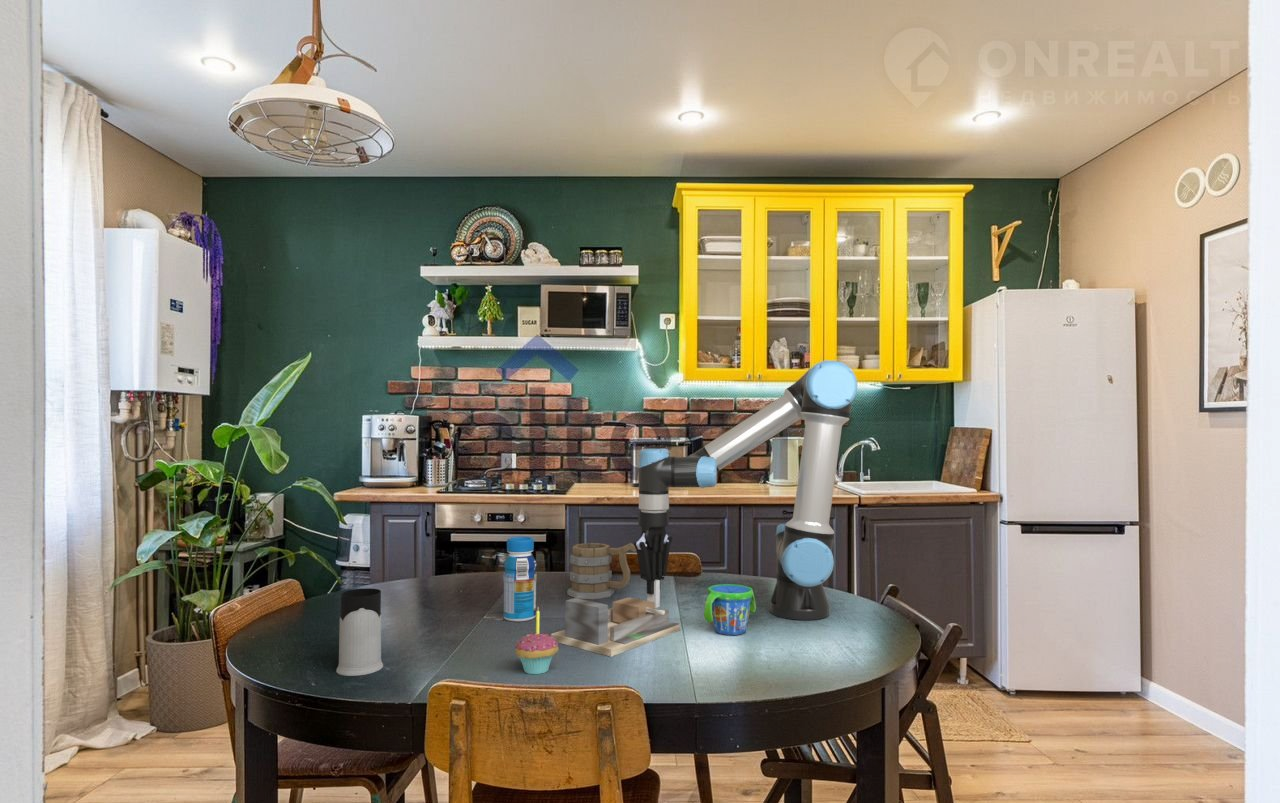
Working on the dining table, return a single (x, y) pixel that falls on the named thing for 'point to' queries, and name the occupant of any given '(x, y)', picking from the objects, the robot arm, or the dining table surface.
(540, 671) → the cupcake
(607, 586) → the tankard
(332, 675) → the dining table surface
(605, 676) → the dining table surface
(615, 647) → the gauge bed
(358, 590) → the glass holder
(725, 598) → the snack cup
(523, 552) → the beverage bottle
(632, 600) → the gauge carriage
